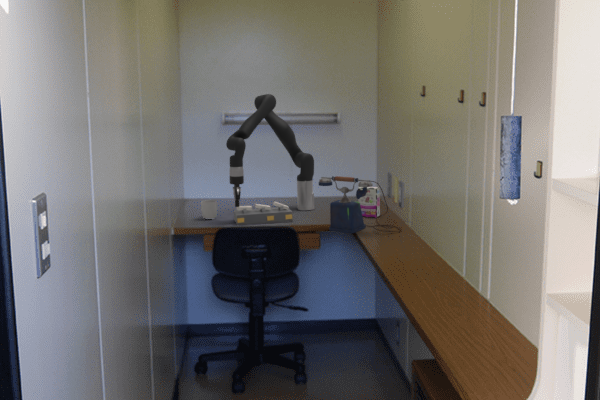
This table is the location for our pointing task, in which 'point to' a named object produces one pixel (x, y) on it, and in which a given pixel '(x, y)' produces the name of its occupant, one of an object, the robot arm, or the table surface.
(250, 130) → the robot arm
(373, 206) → the candy bar box
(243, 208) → the rocker
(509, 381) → the table surface
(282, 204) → the plate
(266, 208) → the rocker middle
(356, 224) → the rotary telephone
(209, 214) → the mug
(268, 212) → the switch unit
